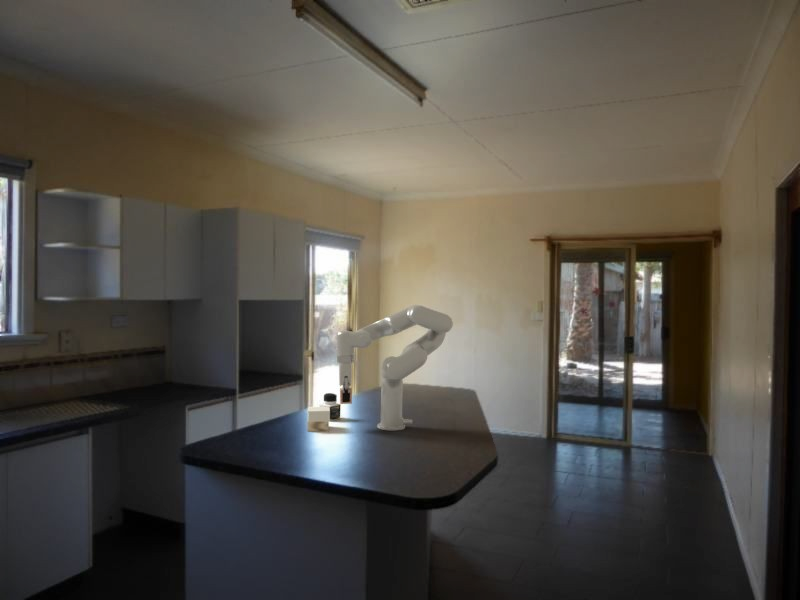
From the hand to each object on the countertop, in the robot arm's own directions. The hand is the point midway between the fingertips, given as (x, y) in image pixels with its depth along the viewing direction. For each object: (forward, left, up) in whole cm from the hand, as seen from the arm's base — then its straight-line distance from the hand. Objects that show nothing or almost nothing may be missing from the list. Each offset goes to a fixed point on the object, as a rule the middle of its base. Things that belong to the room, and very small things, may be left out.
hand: (346, 400), depth 246 cm
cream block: (+12, 0, -8) cm, 14 cm away
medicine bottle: (+7, -19, -13) cm, 24 cm away
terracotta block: (0, 0, -1) cm, 1 cm away
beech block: (+12, 0, -13) cm, 17 cm away
